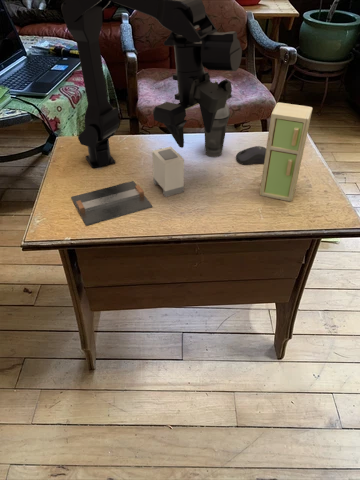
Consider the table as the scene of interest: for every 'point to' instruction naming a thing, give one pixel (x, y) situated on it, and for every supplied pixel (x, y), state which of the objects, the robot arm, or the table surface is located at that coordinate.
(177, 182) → the rail module
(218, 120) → the beverage cup
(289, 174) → the toy refrigerator
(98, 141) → the robot arm
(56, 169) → the table surface
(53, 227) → the table surface
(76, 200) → the rail
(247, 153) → the computer mouse
